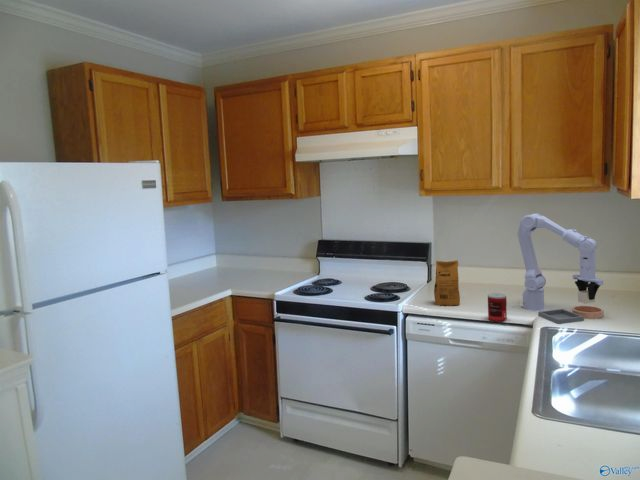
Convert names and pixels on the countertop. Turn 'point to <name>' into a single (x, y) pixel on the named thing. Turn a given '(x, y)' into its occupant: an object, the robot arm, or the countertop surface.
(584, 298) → the stone block
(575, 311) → the bowl
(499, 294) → the canned food
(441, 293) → the coffee package
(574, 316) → the parts tray
